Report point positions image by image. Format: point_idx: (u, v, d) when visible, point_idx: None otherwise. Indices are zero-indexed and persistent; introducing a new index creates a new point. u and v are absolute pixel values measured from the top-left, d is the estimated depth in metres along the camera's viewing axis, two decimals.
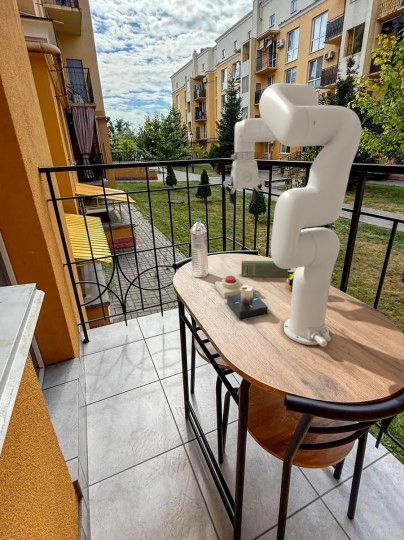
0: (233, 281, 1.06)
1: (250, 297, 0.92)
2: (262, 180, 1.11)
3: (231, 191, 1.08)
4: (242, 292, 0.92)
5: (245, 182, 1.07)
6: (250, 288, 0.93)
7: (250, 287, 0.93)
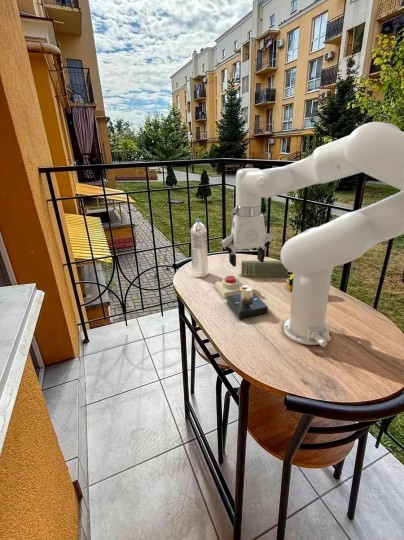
0: (233, 281, 1.06)
1: (250, 297, 0.92)
2: (270, 237, 0.89)
3: (231, 252, 0.87)
4: (242, 292, 0.92)
5: (249, 242, 0.85)
6: (250, 288, 0.93)
7: (250, 287, 0.93)
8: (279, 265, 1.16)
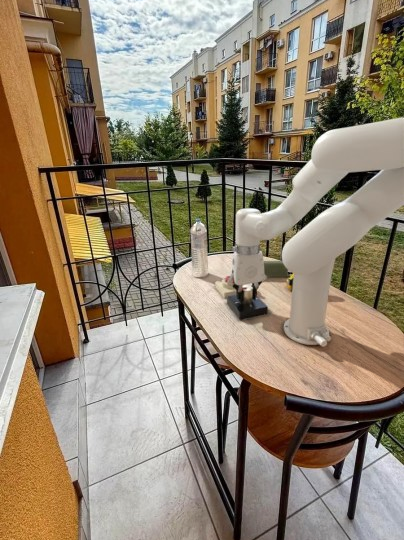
0: (233, 281, 1.06)
1: (250, 297, 0.92)
2: (264, 277, 0.93)
3: (239, 289, 0.91)
4: None
5: (248, 278, 0.89)
6: (250, 288, 0.93)
7: (250, 287, 0.93)
8: (279, 265, 1.16)
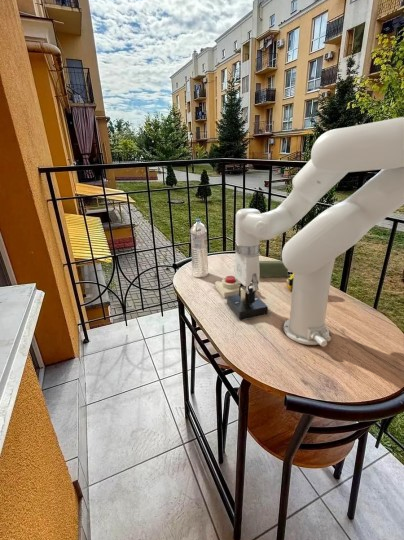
0: (233, 281, 1.06)
1: (242, 296, 0.93)
2: (253, 287, 0.86)
3: (239, 283, 0.96)
4: None
5: (238, 275, 0.91)
6: (245, 289, 0.92)
7: None
8: (279, 265, 1.16)
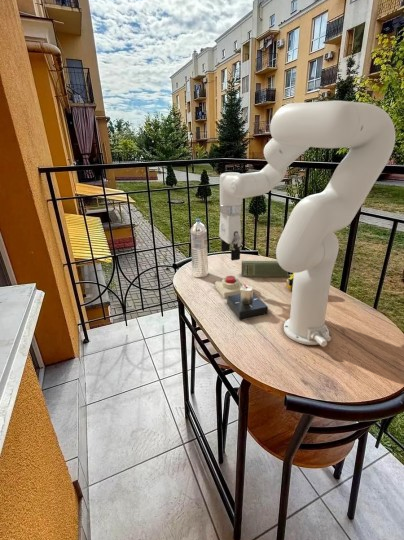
0: (233, 281, 1.06)
1: (242, 296, 0.93)
2: (237, 240, 0.94)
3: None
4: None
5: (222, 234, 1.01)
6: (245, 289, 0.92)
7: (248, 289, 0.92)
8: (279, 265, 1.16)
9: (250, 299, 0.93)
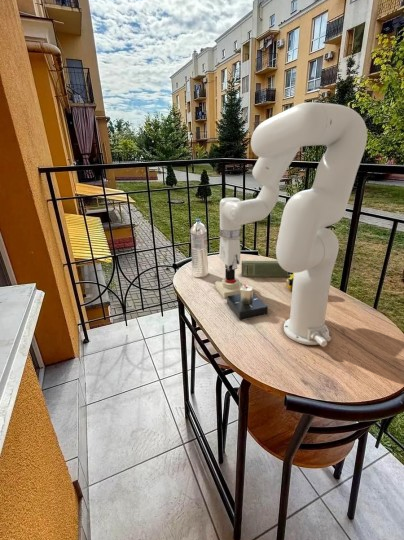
0: (233, 282, 1.06)
1: (242, 296, 0.93)
2: (233, 266, 1.01)
3: (225, 266, 1.07)
4: None
5: (222, 256, 1.04)
6: (245, 289, 0.92)
7: (248, 289, 0.92)
8: (279, 265, 1.16)
9: (250, 299, 0.93)
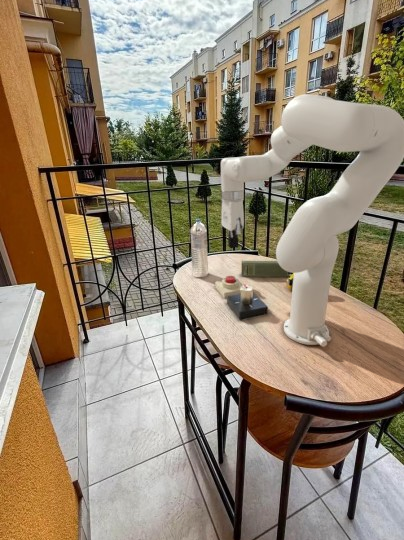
0: (233, 281, 1.06)
1: (242, 296, 0.93)
2: (236, 231, 0.94)
3: None
4: None
5: (224, 222, 0.98)
6: (245, 289, 0.92)
7: (248, 289, 0.92)
8: None
9: (250, 299, 0.93)
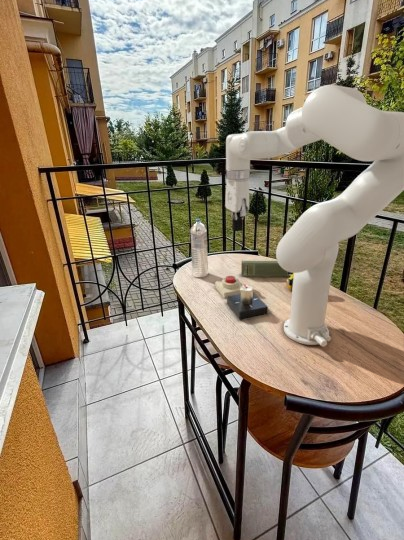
0: (233, 281, 1.06)
1: (242, 296, 0.93)
2: (241, 213, 0.90)
3: (232, 216, 0.96)
4: None
5: (229, 203, 0.93)
6: (245, 289, 0.92)
7: (248, 289, 0.92)
8: (278, 264, 1.16)
9: (250, 299, 0.93)
